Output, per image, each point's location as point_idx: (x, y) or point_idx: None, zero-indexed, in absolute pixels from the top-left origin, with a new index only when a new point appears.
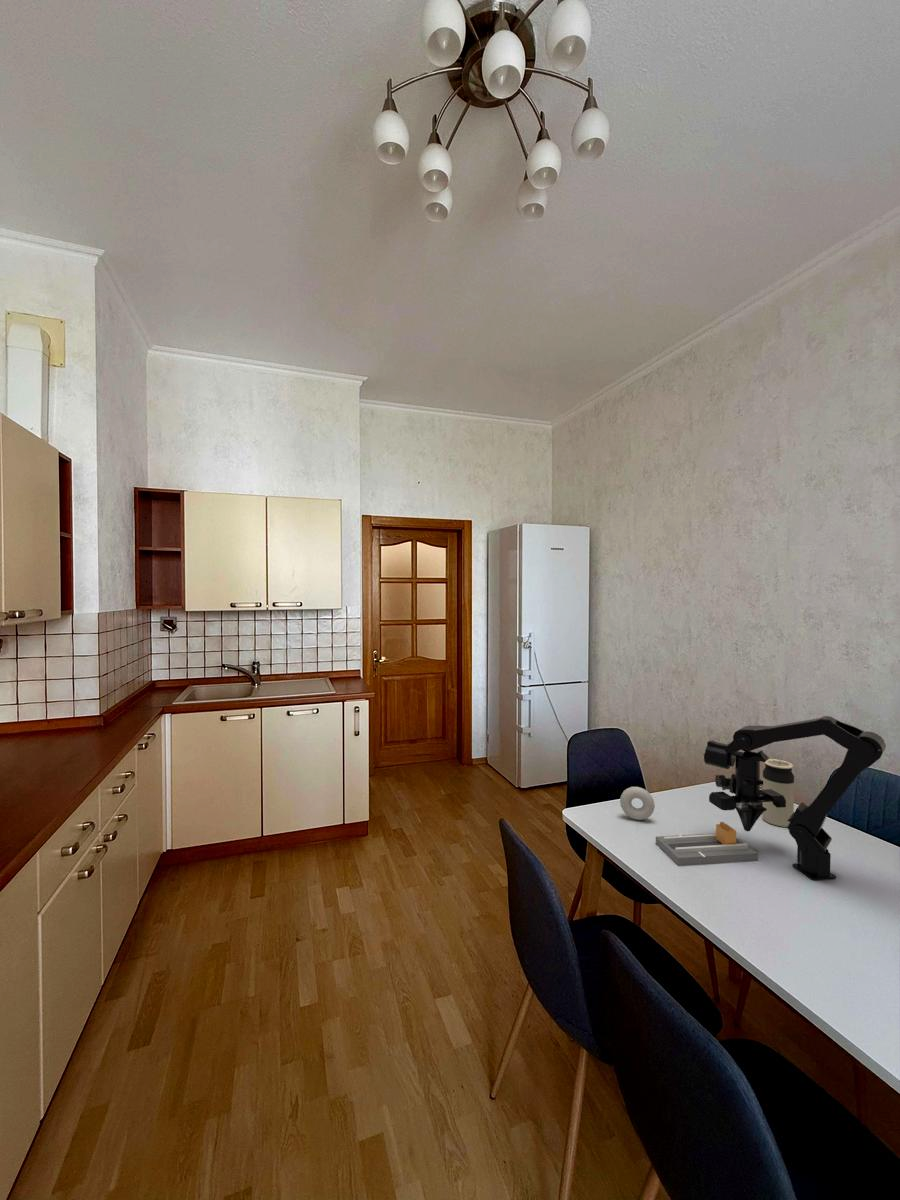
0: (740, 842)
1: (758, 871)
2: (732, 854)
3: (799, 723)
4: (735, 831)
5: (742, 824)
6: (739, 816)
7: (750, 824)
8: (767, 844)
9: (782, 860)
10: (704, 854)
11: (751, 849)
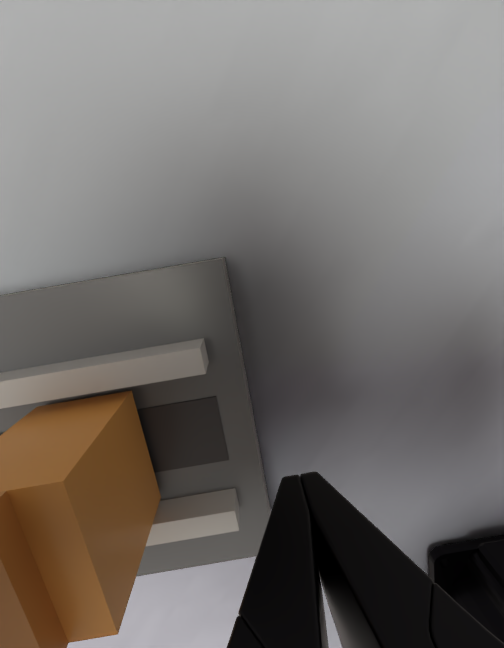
0: (230, 426)
1: (214, 600)
2: None
3: None
4: (110, 627)
5: (268, 521)
6: (231, 636)
7: (339, 630)
8: (466, 314)
9: (418, 495)
10: None
11: (257, 517)
